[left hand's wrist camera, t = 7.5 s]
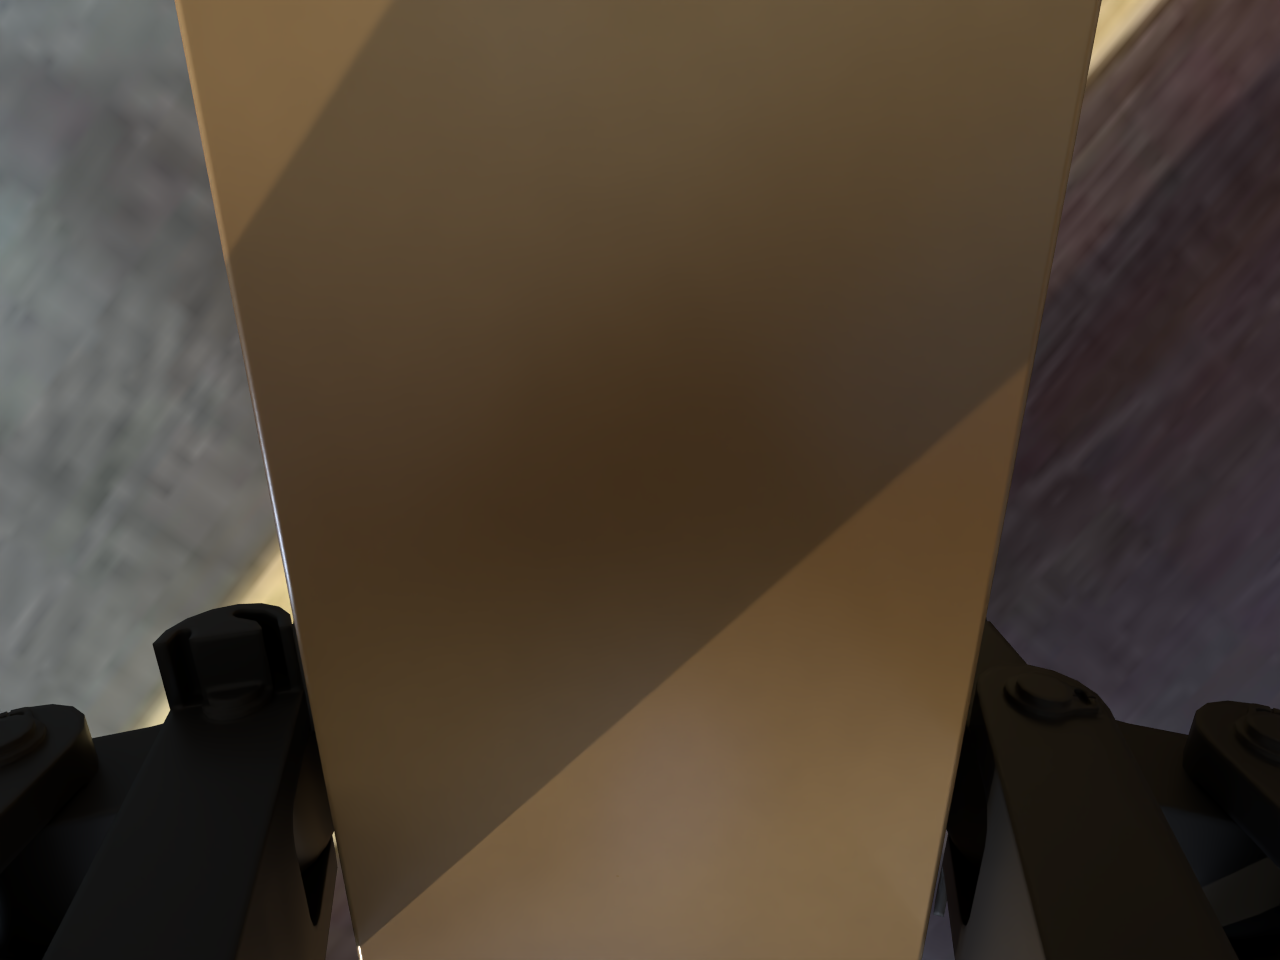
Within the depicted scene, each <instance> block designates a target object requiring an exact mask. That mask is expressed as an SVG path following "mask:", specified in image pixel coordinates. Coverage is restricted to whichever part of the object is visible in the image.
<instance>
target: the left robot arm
mask: <svg viewBox="0 0 1280 960" xmlns="http://www.w3.org/2000/svg"><path fill="white" fill-rule="evenodd" d="M153 648H154V651H155V655H156V659H157V662H158V666H159V670H160V673H161V677H162V681H163V685H164V688H165V692H166V696H167V699H168V703H169V707H170V712H169V714H168V716H167V718H166V720H165V722H164V723H163V724H160V725H156V726H152V727H147V728H142V729H137V730H132V731H127V732H122V733H117V734H112V735H107V736H102V737H97V738H92V737H91V734H90V731H89V728H88V725H87V722H86V719H85V715H84V714H83V713H81V712H80V711H79V710H77V709H76V708H74V707H73V706H64V705H56V704H50V705H42V706H34V707H23V708H19V709H15V710H11V712H9V713H7V712H4V713H1V714H0V960H325V957H326V949H327V942H328V934H329V927H330V919H331V912H332V904H333V896H334V889H335V881H336V874H337V860H336V853H335V847H334V842H333V837H332V834H333V832H334V827H333V821H332V816H331V811H330V806H329V801H328V795H327V790H326V785H325V780H324V775H323V769H322V764H321V759H320V754H319V749H318V743H317V738H316V733H315V728H314V723H313V717H312V712H311V707H310V702H309V697H308V691H307V686H306V681H305V676H304V671H303V665H302V660H301V655H300V650H299V645H298V639H297V634H296V629H295V624H294V622H293V624H292V622H291V617H290V614H289V613H287V612H286V611H285V610H283V609H282V608H280V607H278V606H273V605H268V604H263V603H255V604H236V605H231V606H227V607H222V608H217V609H212V610H209V611H206V612H204V613H201V614H198V615H195V616H193V617H190V618H187V619H185V620H184V621H182V622H180V623H178V624H177V625H175V626H173V627H171V628H170V629H168V630H166V631H165V632H164V633H163V634H162V635H161V636H160V637H159V638H158V639H157V640H156V641H155V642H154V643H153ZM946 829H947V831H948V837H947V842H946V847H945V853H944V858H943V863H942V868H941V874H940V879H939V884H938V889H937V894H936V900H935V907H934V914H933V915H937V916H942V917H944V912H945V907H946V902H948V910H949V917H950V925H951V933H952V940H953V948H954V955H955V960H1280V710H1279V709H1276V708H1273V709H1270V707H1268V706H1264V705H1260V704H1254V703H1252V704H1250V703H1242V702H1234V701H1221V702H1212V703H1207V704H1205V705H1204V706H1203V707H1201V708H1200V709H1198V710H1197V711H1196V713H1195V716H1194V719H1193V723H1192V726H1191V729H1190V732H1189V735H1185V734H1180V733H1175V732H1170V731H1165V730H1160V729H1154V728H1149V727H1144V726H1139V725H1134V724H1129V723H1125V722H1121V721H1117V720H1115V718H1114V716H1113V714H1112V712H1111V711H1110V709H1109V708H1108V706H1107V705H1106V704H1105V703H1104V702H1103V700H1102V699H1101V698H1100V697H1099V696H1098V694H1096V693H1095V692H1093V691H1092V690H1090V689H1089V688H1087V687H1086V686H1084V685H1083V684H1081V683H1080V682H1078V681H1077V680H1074V679H1072V678H1070V677H1067V676H1065V675H1062V674H1060V673H1058V672H1055V671H1053V670H1048V669H1044V668H1040V667H1036V666H1032V665H1027V664H1026V662H1025V661H1024V660H1023V659H1022V658H1021V657H1020V656H1019V654H1018V653H1017V652H1016V651H1015V650H1014V649H1013V647H1012V646H1011V645H1010V644H1009V643H1008V642H1007V641H1006V639H1005V638H1004V637H1003V636H1002V635H1001V634H1000V633H999V631H998V630H997V629H996V628H995V627H994V626H993V625H992V623H991V622H990V621H987V620H986V619H985V624H984V630H983V635H982V640H981V646H980V651H979V656H978V662H977V667H976V672H975V678H974V683H973V688H972V694H971V699H970V704H969V710H968V715H967V720H966V726H965V731H964V736H963V742H962V747H961V752H960V758H959V763H958V768H957V774H956V779H955V784H954V790H953V795H952V800H951V806H950V811H949V816H948V822H947V827H946Z"/></svg>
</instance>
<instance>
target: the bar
mask: <svg viewBox="0 0 1280 960" xmlns="http://www.w3.org/2000/svg"><path fill="white" fill-rule="evenodd" d="M1101 1H1102V0H175V5H176V10H177V15H178V20H179V26H180V31H181V36H182V41H183V46H184V52H185V57H186V62H187V67H188V72H189V78H190V83H191V88H192V93H193V99H194V104H195V109H196V114H197V119H198V125H199V130H200V135H201V140H202V145H203V151H204V156H205V161H206V166H207V171H208V177H209V182H210V187H211V192H212V197H213V203H214V208H215V213H216V218H217V223H218V229H219V234H220V239H221V244H222V249H223V255H224V260H225V265H226V270H227V275H228V281H229V286H230V291H231V296H232V301H233V307H234V312H235V317H236V322H237V327H238V333H239V338H240V343H241V348H242V353H243V359H244V364H245V369H246V374H247V379H248V385H249V390H250V395H251V400H252V405H253V411H254V416H255V421H256V426H257V431H258V437H259V442H260V447H261V452H262V457H263V463H264V468H265V473H266V478H267V483H268V489H269V494H270V499H271V504H272V509H273V515H274V520H275V525H276V530H277V535H278V541H279V546H280V551H281V556H282V561H283V567H284V572H285V577H286V582H287V587H288V593H289V598H290V603H291V608H292V613H293V619H294V624H295V629H296V634H297V639H298V645H299V650H300V655H301V660H302V665H303V671H304V676H305V681H306V686H307V691H308V697H309V702H310V707H311V712H312V717H313V723H314V728H315V733H316V738H317V743H318V749H319V754H320V759H321V764H322V769H323V775H324V780H325V785H326V790H327V795H328V801H329V806H330V811H331V816H332V821H333V827H334V832H335V837H336V842H337V847H338V853H339V858H340V863H341V868H342V873H343V879H344V884H345V889H346V894H347V899H348V905H349V910H350V915H351V920H352V925H353V931H354V936H355V941H356V946H357V951H358V957H359V960H922V955H923V949H924V944H925V939H926V933H927V928H928V923H929V917H930V912H931V907H932V902H933V896H934V891H935V886H936V880H937V875H938V870H939V864H940V859H941V854H942V848H943V843H944V838H945V832H946V827H947V822H948V816H949V811H950V806H951V800H952V795H953V790H954V784H955V779H956V774H957V768H958V763H959V758H960V752H961V747H962V742H963V736H964V731H965V726H966V720H967V715H968V710H969V704H970V699H971V694H972V688H973V683H974V678H975V672H976V667H977V662H978V656H979V651H980V646H981V640H982V635H983V630H984V624H985V619H986V614H987V608H988V603H989V598H990V592H991V587H992V582H993V576H994V571H995V566H996V560H997V555H998V550H999V544H1000V539H1001V534H1002V528H1003V523H1004V518H1005V512H1006V507H1007V502H1008V496H1009V491H1010V486H1011V480H1012V475H1013V470H1014V464H1015V459H1016V454H1017V448H1018V443H1019V438H1020V433H1021V427H1022V422H1023V417H1024V411H1025V406H1026V401H1027V395H1028V390H1029V385H1030V379H1031V374H1032V369H1033V363H1034V358H1035V353H1036V347H1037V342H1038V337H1039V331H1040V326H1041V321H1042V315H1043V310H1044V305H1045V299H1046V294H1047V289H1048V283H1049V278H1050V273H1051V267H1052V262H1053V257H1054V251H1055V246H1056V241H1057V235H1058V230H1059V225H1060V219H1061V214H1062V209H1063V203H1064V198H1065V193H1066V187H1067V182H1068V177H1069V171H1070V166H1071V161H1072V155H1073V150H1074V145H1075V139H1076V134H1077V129H1078V123H1079V118H1080V113H1081V107H1082V102H1083V97H1084V91H1085V86H1086V81H1087V75H1088V70H1089V65H1090V59H1091V54H1092V49H1093V43H1094V38H1095V33H1096V27H1097V22H1098V17H1099V11H1100V6H1101Z"/></svg>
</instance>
